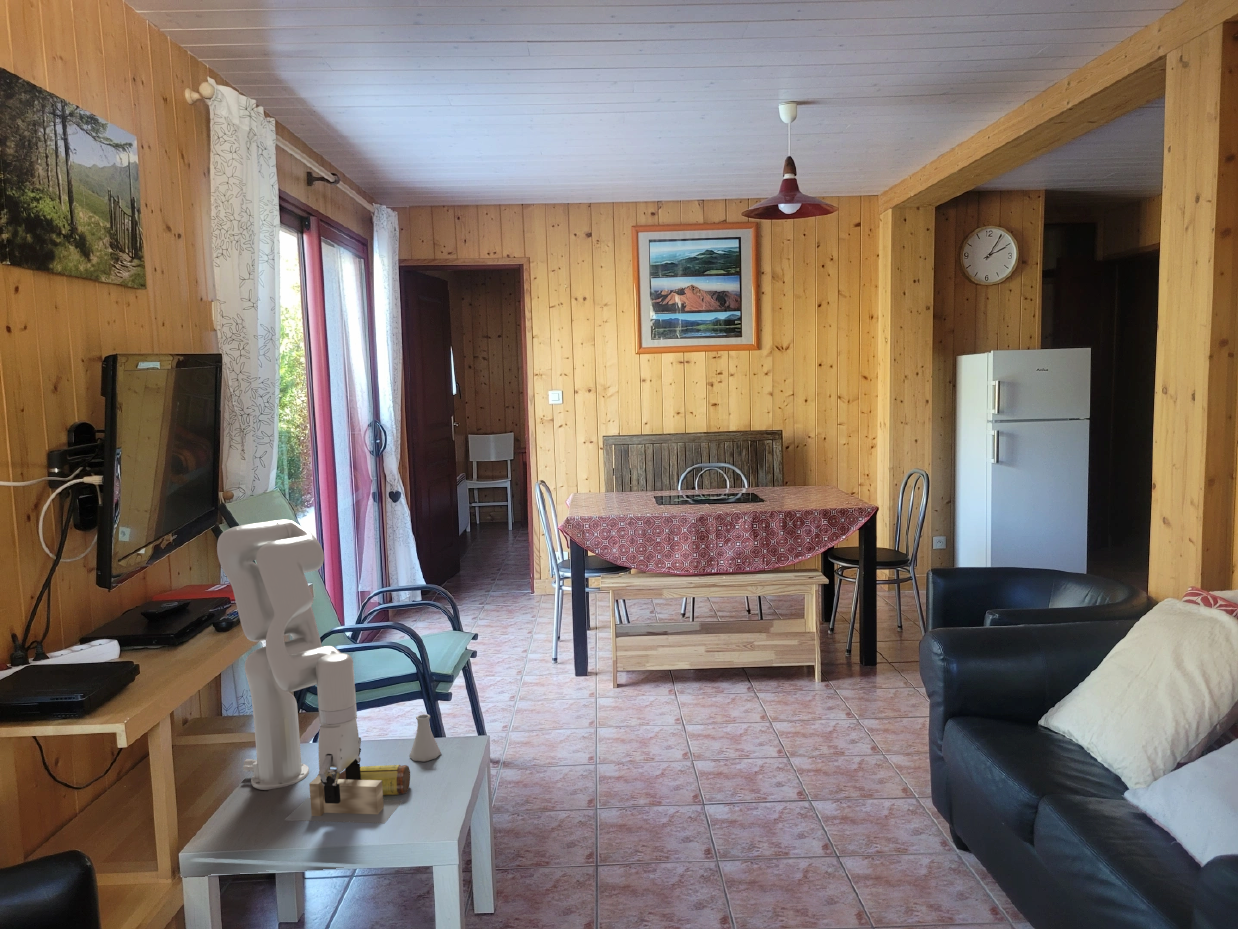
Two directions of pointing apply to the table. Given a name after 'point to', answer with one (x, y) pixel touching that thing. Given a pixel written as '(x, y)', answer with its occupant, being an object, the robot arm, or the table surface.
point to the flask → (424, 741)
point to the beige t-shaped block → (348, 797)
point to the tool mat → (344, 814)
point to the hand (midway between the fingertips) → (343, 792)
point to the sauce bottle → (386, 777)
